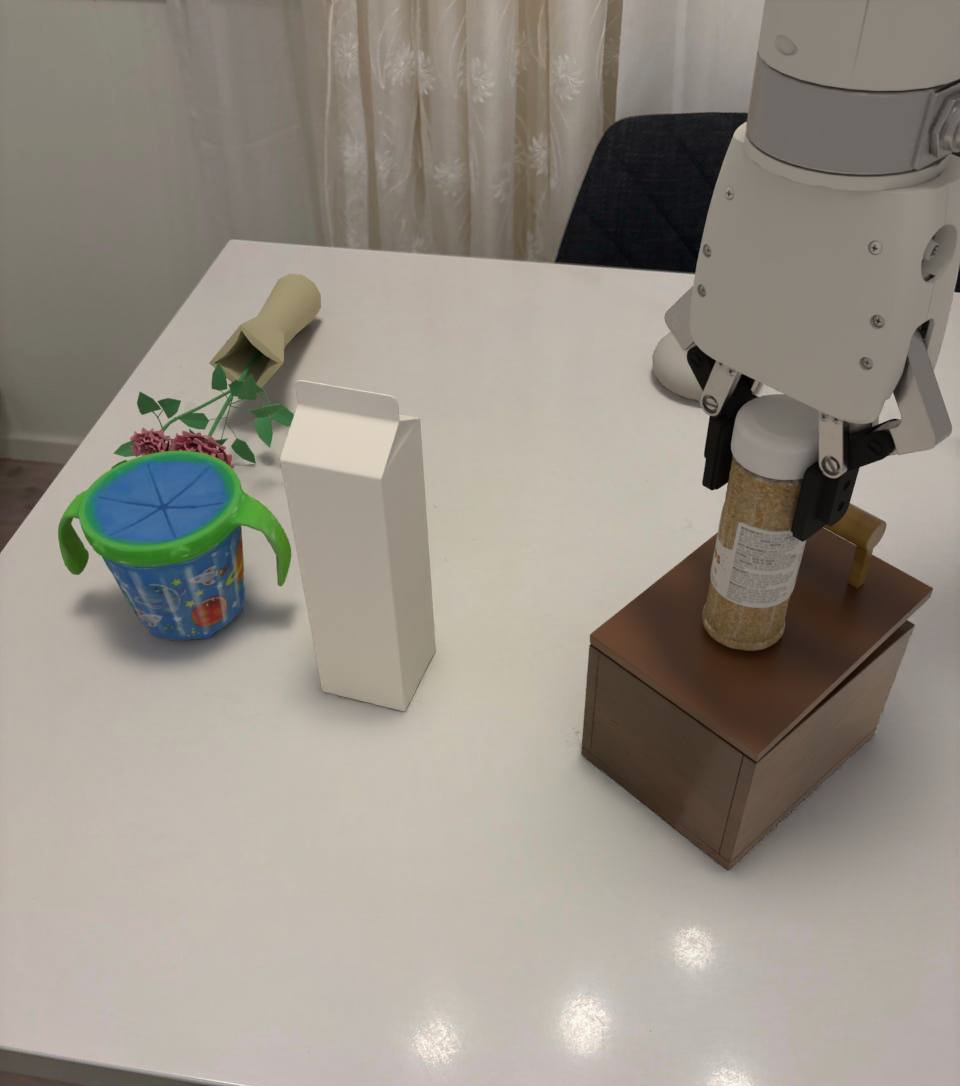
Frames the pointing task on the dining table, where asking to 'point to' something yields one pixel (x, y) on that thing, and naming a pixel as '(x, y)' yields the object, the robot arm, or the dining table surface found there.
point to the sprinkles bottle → (760, 522)
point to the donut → (675, 368)
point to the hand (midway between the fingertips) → (770, 498)
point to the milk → (361, 540)
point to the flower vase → (238, 377)
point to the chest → (726, 751)
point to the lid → (786, 666)
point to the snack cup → (172, 539)
